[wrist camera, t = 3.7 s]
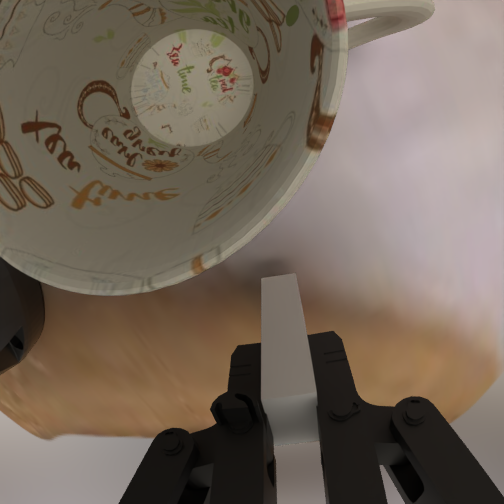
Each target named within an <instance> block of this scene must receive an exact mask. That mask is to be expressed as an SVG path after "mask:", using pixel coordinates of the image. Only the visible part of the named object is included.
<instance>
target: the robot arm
mask: <svg viewBox="0 0 504 504" xmlns="http://www.w3.org/2000/svg"><path fill="white" fill-rule="evenodd" d="M43 323H44V306H43V299H42V293H41V289H40V285H39V281H38V280H36V279H34V278H32V277H30V276H28V275H27V274H25V273H23V272H21V271H20V270H18V269H17V268H15V267H13V266H12V265H11V264H9V263H8V262H7V261H5V260H4V259H3V258H2V257H0V375H1V374H3V373H4V372H6V371H7V370H9V369H10V368H12V367H14V366H15V365H17V364H18V363H20V362H21V361H22V360H23V359H24V358H25V357H26V356H27V354H28V353H29V351H30V350H31V349H32V347H33V346H34V344H35V343H36V342H37V340H38V339H39V337H40V335H41V332H42V329H43ZM210 410H211V412H212V414H213V416H214V419H215V421H216V422H217V423H216V424H215V425H213V426H212V427H209V428H207V429H204V430H201V431H198V432H194V433H191V434H189V432H188V431H186V430H184V429H181V428H170V429H167V430H164V431H162V432H161V433H159V434H158V435H157V436H156V437H155V439H154V440H153V442H152V443H151V446H150V447H149V449H148V451H147V453H146V454H145V456H144V458H143V460H142V462H141V464H140V465H139V467H138V469H137V471H136V473H135V475H134V477H133V478H132V480H131V482H130V484H129V486H128V487H127V489H126V491H125V493H124V495H123V497H122V498H121V500H120V502H119V504H277V488H276V459H275V456H274V445H275V446H280V445H289V444H297V443H305V442H312V441H320V449H321V464H322V470H323V479H324V487H325V497H326V504H388V503H387V499H386V494H385V489H384V485H383V480H382V475H381V471H380V467H379V465H383V466H384V467H385V469H386V471H387V472H388V474H389V476H390V478H391V480H392V481H393V483H394V485H395V487H396V488H397V490H398V492H399V493H400V495H401V497H402V499H403V500H404V502H405V504H504V497H503V495H502V494H501V493H500V491H499V490H498V488H497V487H496V486H495V484H494V483H493V482H492V480H491V479H490V477H489V476H488V475H487V473H486V472H485V471H484V469H483V468H482V467H481V465H480V464H479V463H478V461H477V460H476V459H475V457H474V456H473V455H472V453H471V452H470V451H469V449H468V448H467V447H466V445H465V444H464V443H463V441H462V440H461V439H460V438H459V437H458V435H457V434H456V432H455V431H454V430H453V429H452V427H451V426H450V425H449V423H448V422H447V421H446V420H445V418H444V417H443V416H442V415H441V413H440V412H439V411H438V409H437V408H436V407H435V406H434V404H433V403H431V402H430V401H429V400H428V399H425V398H422V397H412V396H411V397H408V398H405V399H403V400H401V401H400V402H399V403H397V404H396V406H395V407H391V406H376V405H372V404H369V403H367V402H365V401H364V400H362V399H361V397H360V396H359V395H358V393H357V391H356V387H355V384H354V380H353V377H352V373H351V370H350V366H349V363H348V360H347V356H346V352H345V349H344V345H343V342H342V339H341V338H340V337H339V336H338V335H337V334H336V333H335V332H334V331H329V332H324V333H318V334H311V335H307V331H306V326H305V320H304V315H303V309H302V304H301V298H300V293H299V288H298V283H297V277H296V273H291V274H285V275H279V276H272V277H266V278H261V343H255V344H246V345H238V346H237V348H236V349H235V351H234V352H233V354H232V355H231V363H230V373H229V382H228V391H227V392H226V393H224V394H222V395H220V396H218V398H217V399H216V400H215V401H214V402H213V403H212V406H211V408H210Z"/></svg>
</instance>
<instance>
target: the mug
mask: <svg viewBox="0 0 504 504" xmlns="http://www.w3.org/2000/svg"><path fill="white" fill-rule="evenodd" d="M434 11H435V7H434V2H433V1H432V0H0V257H2V258H3V259H4V260H5V261H7V262H8V263H9V264H11V265H12V266H13V267H15V268H17V269H18V270H20V271H21V272H23V273H25V274H27V275H28V276H30V277H32V278H34V279H36V280H38V281H41V282H43V283H46V284H48V285H51V286H53V287H56V288H60V289H63V290H67V291H71V292H76V293H82V294H87V295H100V296H119V295H131V294H138V293H144V292H151V291H154V290H158V289H161V288H164V287H168V286H171V285H175V284H177V283H180V282H182V281H185V280H187V279H190V278H192V277H194V276H197V275H199V274H200V273H202V272H204V271H206V270H208V269H210V268H211V267H213V266H215V265H217V264H219V263H221V262H222V261H224V260H225V259H227V258H228V257H229V256H231V255H232V254H233V253H235V252H236V251H238V250H239V249H240V248H242V247H243V246H244V245H246V244H247V243H248V242H250V241H251V240H252V239H253V238H254V237H255V236H256V235H257V234H258V233H260V232H261V231H262V230H263V229H264V228H265V227H266V226H267V225H268V224H269V223H270V222H271V221H272V220H273V219H274V218H275V217H276V216H277V214H278V213H279V212H280V211H281V210H282V209H283V208H284V207H285V206H286V205H287V203H288V202H289V201H290V199H291V198H292V197H293V195H294V194H295V193H296V191H297V190H298V189H299V187H300V186H301V185H302V183H303V182H304V180H305V178H306V177H307V175H308V173H309V172H310V170H311V169H312V167H313V165H314V164H315V162H316V160H317V159H318V156H319V154H320V152H321V150H322V148H323V146H324V144H325V142H326V140H327V138H328V136H329V133H330V131H331V128H332V125H333V122H334V119H335V117H336V114H337V111H338V108H339V104H340V100H341V96H342V91H343V87H344V83H345V76H346V67H347V58H348V50H349V49H352V48H354V47H357V46H359V45H362V44H365V43H367V42H370V41H373V40H376V39H378V38H381V37H384V36H387V35H390V34H394V33H397V32H400V31H403V30H406V29H409V28H412V27H414V26H416V25H418V24H421V23H422V22H424V21H426V20H428V19H429V18H430V17H431V16H432V14H433V13H434ZM373 17H376V18H374V19H371V20H369V21H366V22H364V23H361V24H359V25H356V26H354V27H351V28H349V29H348V27H347V22H348V21H353V20H359V19H366V18H373Z"/></svg>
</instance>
